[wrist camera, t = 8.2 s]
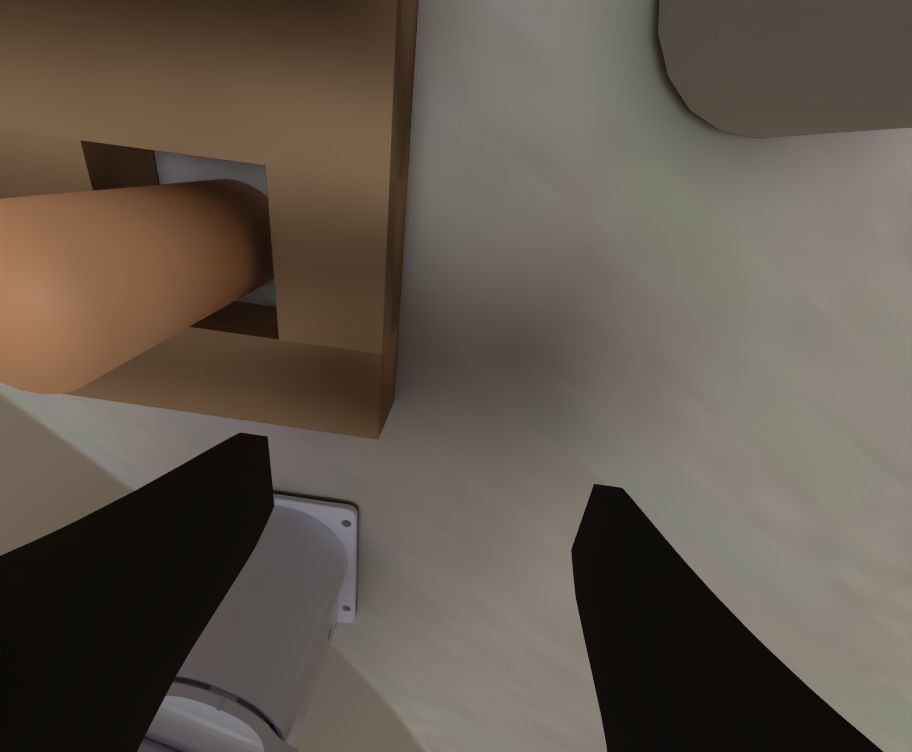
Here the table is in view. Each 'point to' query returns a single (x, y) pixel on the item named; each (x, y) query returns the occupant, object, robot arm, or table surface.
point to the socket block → (244, 140)
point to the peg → (120, 273)
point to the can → (791, 63)
